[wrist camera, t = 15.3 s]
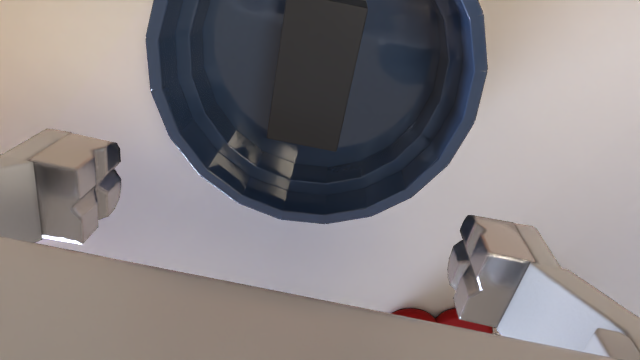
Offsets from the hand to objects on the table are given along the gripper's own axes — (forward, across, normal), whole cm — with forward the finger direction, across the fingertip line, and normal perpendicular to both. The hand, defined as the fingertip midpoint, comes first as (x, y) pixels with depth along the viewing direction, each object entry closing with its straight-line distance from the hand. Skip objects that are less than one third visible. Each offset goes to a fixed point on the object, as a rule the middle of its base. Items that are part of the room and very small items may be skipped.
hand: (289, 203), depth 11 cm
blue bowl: (+16, 0, 0) cm, 16 cm away
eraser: (+16, 0, 0) cm, 16 cm away
